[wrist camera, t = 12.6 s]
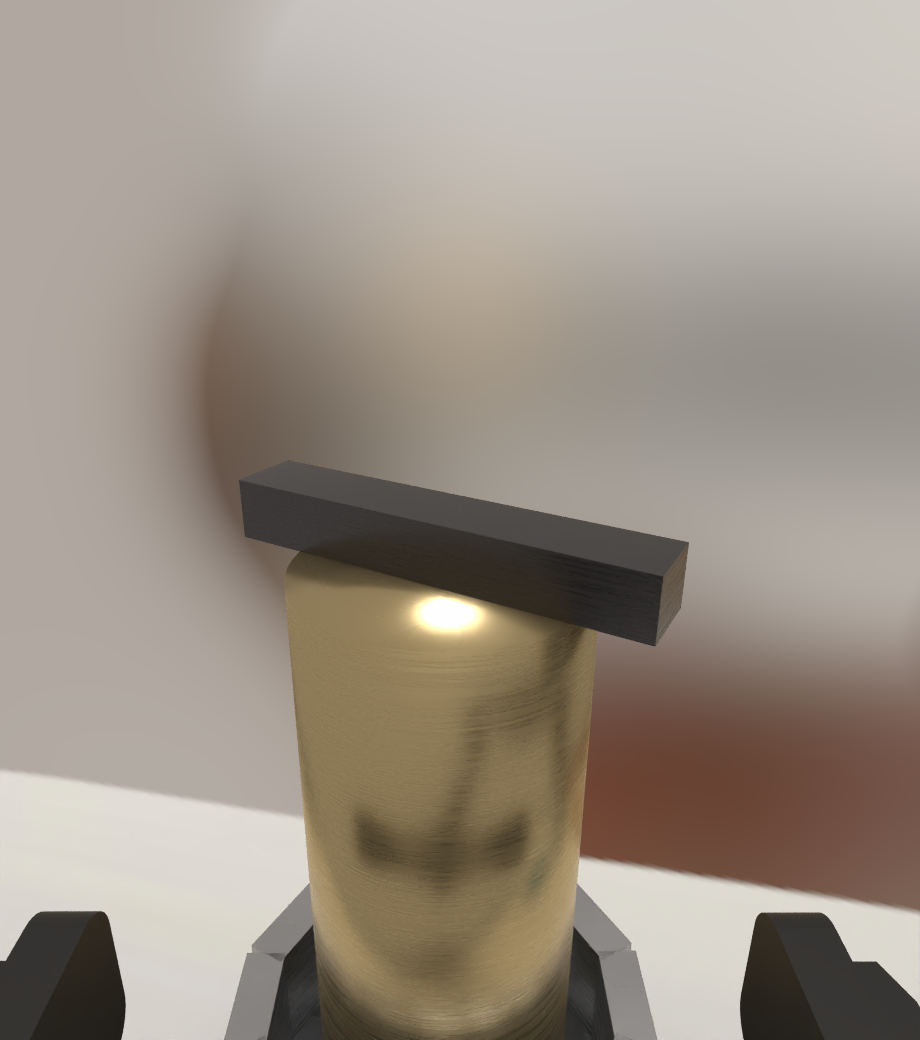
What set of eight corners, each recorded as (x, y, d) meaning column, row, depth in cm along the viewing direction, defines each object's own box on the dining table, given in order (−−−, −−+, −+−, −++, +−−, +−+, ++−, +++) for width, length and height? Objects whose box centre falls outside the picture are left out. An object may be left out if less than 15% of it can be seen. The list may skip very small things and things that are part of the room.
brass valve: (373, 929, 21) (350, 435, 16) (641, 1067, 17) (719, 501, 12) (237, 1102, 17) (150, 516, 12) (552, 1319, 13) (614, 641, 9)
